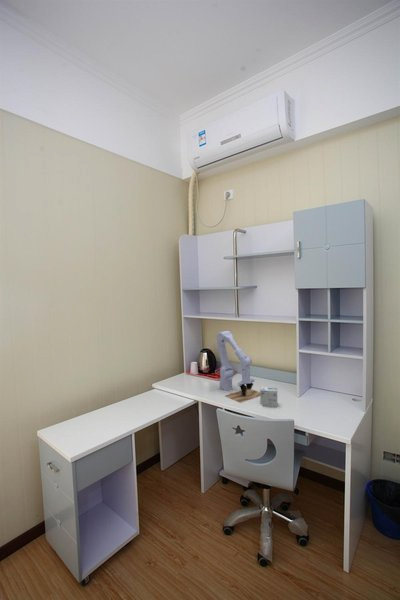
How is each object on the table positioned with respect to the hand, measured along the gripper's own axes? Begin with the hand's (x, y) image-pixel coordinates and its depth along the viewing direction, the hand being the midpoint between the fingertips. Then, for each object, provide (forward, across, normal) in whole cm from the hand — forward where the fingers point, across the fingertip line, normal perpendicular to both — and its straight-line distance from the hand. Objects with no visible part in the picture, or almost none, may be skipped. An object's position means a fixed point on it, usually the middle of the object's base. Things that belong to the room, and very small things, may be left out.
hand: (246, 393), depth 213 cm
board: (+2, -2, 0) cm, 2 cm away
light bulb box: (+2, +1, -20) cm, 20 cm away
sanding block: (0, 0, 0) cm, 0 cm away
